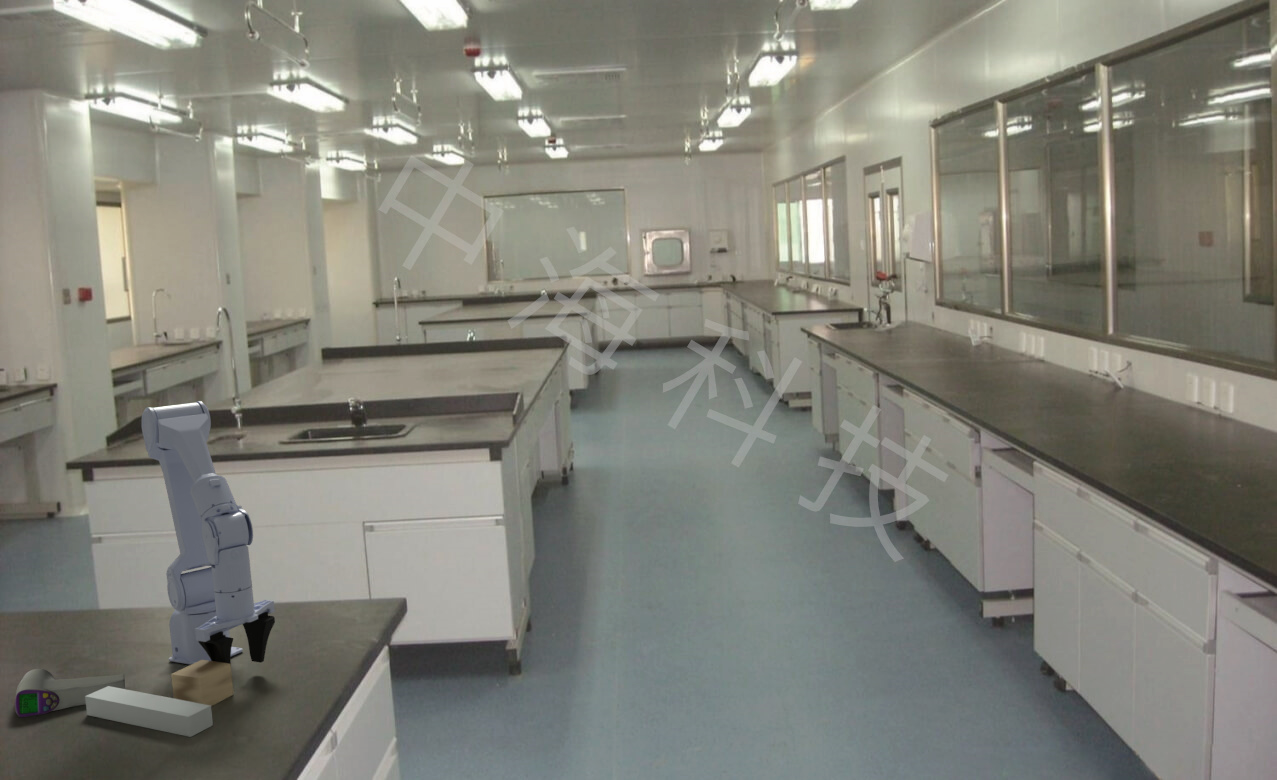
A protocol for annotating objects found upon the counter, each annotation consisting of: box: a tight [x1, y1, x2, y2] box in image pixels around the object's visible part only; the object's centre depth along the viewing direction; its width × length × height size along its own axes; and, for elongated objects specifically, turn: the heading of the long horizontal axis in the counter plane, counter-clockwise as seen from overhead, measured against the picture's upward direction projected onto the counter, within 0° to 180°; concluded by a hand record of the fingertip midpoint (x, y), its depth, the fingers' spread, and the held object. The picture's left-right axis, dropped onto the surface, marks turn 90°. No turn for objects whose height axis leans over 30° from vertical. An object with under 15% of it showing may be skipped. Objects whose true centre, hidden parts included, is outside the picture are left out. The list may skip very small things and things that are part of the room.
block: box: [170, 660, 234, 707], centre depth 161 cm, size 6×6×5 cm
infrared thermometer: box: [14, 668, 126, 718], centre depth 166 cm, size 5×12×15 cm
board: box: [85, 686, 214, 738], centre depth 155 cm, size 22×4×3 cm, turn 64°
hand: (241, 669), depth 168 cm, fingers open, 6 cm apart
